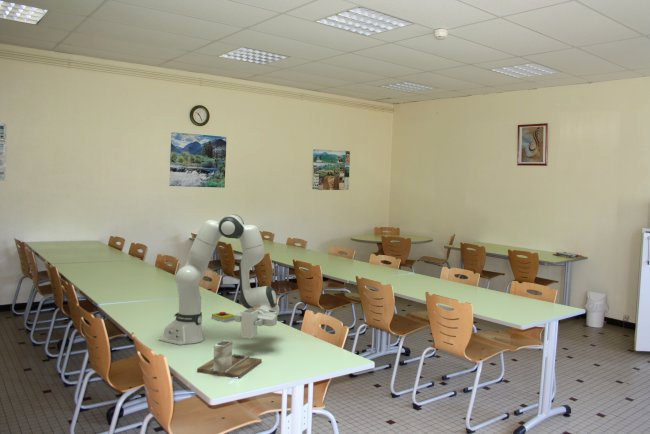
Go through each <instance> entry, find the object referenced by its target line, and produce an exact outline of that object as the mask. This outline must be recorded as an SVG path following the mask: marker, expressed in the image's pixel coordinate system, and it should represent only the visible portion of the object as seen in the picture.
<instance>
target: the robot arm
mask: <svg viewBox="0 0 650 434" xmlns="http://www.w3.org/2000/svg"><path fill="white" fill-rule="evenodd" d="M222 237H224V238H227V239H237V240H239V242H240V245H241V250H242V256H241V259H240V260H239V262H238V274H239V276H238V277H239V286H240V287H239V288H240V290H239V291H240V293H239V301H240V305H241V306H243V307H244V308H245V309H246V310H247V309H253V308H255V310H258V321H254V325H256V326H257V327H262V326H265V327H274V326H276V325H277V323H278V316H279V314H280V305H279V304H278V295H277V291H276V290H275V289H274V288H273V287H272V286H270V285H265V286H264V285H262V286H259V287H253V288H252V287H251V283H250V271H251V269H252V268H253V267H254V266H257V265H258V264H259V263H260V262H261V261H262V260H263V259H264V257H265V256H266V255H265V254H266V250H265V245H264V241H263V238H262V237H263V236H262V234H261V232H260V230H259V227H258V226H257V225H254V224H245V223H244V220H243V218H242V217H241V216H240V215H238V214H233V213H232V214H228V215H225V216H224V217H223V218H222V219H221V220H220V221H217V220H214V219H208V220H206V221H205V222H204V223H203V224H202V225H201V227H200V229H199V231H198V232H197V234H196V237H195V238H194V240H193V243H192V245H191V248H190V249H189V253H188V257H187V260H186V263H185V264H184V266H182V267H181V268H179V269H178V270H177V272H176V274H175V276H174V277H175V278H174V279H175V283H176V286H177V287H176V288H177V294H178V295H177V296H178V312H176V313H175V314H174V315H173V317H175V320H173V321H171V323H168V325H165V327H164V331H163V334H162V335H160V336H159V337H158V341H161V342H165V343H169V344H173V345H178V346H179V345H181V346H182V345H190V344H196V343H201V342H203V341H204V340H205V339H204V338H205V337H204V335H203V331H202V330H203V329H202V321H203V312H202V295H201V291H200V282H202V280H203V279H204V277H205V274H206V271H207V269H208V266H209V264H210V260H211V259H212V256H213V254H214V252H215V250H216V247H217V245H218V244H219V241H220V239H221V238H222ZM242 312H243V311H241V312H238V313H235V314H234V315H235V321H234V322H236V323H241V320H242Z"/></svg>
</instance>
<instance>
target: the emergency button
mask: <svg viewBox="0 0 650 434" xmlns="http://www.w3.org/2000/svg"><path fill="white" fill-rule="evenodd" d="M210 318H211V319H210V320H213V319H214V321H217V322H220V321H221V323H225V324H226V323H231V322H236V321H235V314H233V313H228V312H226V311H219V312H217V313H216V312H215V313H212V314H211V317H210Z"/></svg>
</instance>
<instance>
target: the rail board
mask: <svg viewBox="0 0 650 434" xmlns="http://www.w3.org/2000/svg"><path fill="white" fill-rule="evenodd" d="M261 363H263V362H262V358H256V357H250V355H247V356H245V355H243V354H237V353H233V341H230V340H221V341H219V342H218V343H216V344H214V345H213V359H211V360H209V361H207V362H206V363H204V364H202V365H201V366H199V367H197V368H196V372H197V373H200V374H201V373H202V374H207V375H214V376H220V377H227V378H233V377H238V378H237V379H241V378H242V377H244V376H245V375H246V374H247V373H249V372H251V371H252V370H253V369H254V368H256V367H257V366H258V365H260V364H261Z"/></svg>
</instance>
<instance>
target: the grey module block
mask: <svg viewBox="0 0 650 434" xmlns="http://www.w3.org/2000/svg"><path fill="white" fill-rule="evenodd" d="M255 309H256V308H255ZM255 309H253V308H250V309H247V308H246V309H245V310H243V311H241V312H242V320H241V322H240V324H241V325H240V327H241V328H240V338H243V339H249V340H250V339H252V338H254V337H256V336H258V325H257V326H256V325H254V321H258V310H255Z"/></svg>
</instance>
